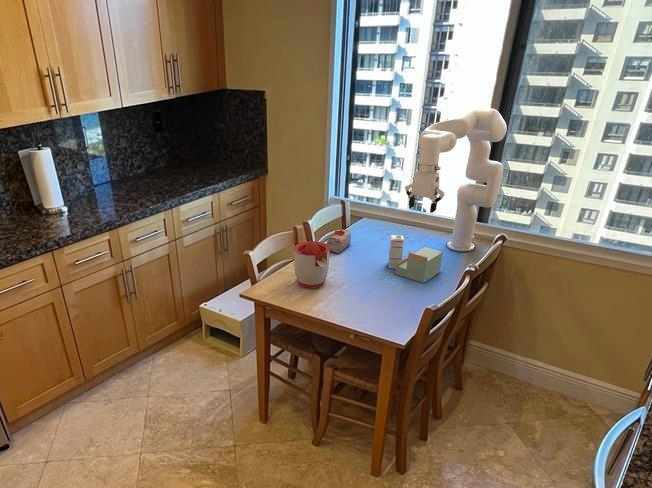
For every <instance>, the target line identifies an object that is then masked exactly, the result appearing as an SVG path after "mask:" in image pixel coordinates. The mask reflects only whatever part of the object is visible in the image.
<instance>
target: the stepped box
mask: <svg viewBox="0 0 652 488" xmlns="http://www.w3.org/2000/svg"><path fill="white" fill-rule="evenodd" d="M443 253H444V252H443V251H441V250H437V249H434V248H429V247H425V246H424V247H422V248H419V250H417V251H415V252H411V251H409V252H408V254H407V256H406V257H404V258H402V260H401V261H400V262H398V263H397V266H396V269H395V275H398V276H400V277H404V278H407V279H410V280H412V281H416V282H419V283H422V284H424V283H426V282H427V281H429V280H430V279H432V278H433V277H435V276H437V275H438V274H439V273H440V271H441V265H442V259H443Z"/></svg>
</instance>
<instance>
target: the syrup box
mask: <svg viewBox="0 0 652 488" xmlns="http://www.w3.org/2000/svg"><path fill="white" fill-rule="evenodd" d="M404 243H405V238H404V235H403V234H391V235H390V242H389V252H388V269H394V270H396V266H397V263H398V262H400V261H401V260H403V253H404Z"/></svg>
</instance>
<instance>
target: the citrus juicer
mask: <svg viewBox="0 0 652 488" xmlns="http://www.w3.org/2000/svg"><path fill="white" fill-rule="evenodd" d="M329 250H330V247H329V245H327V243H325V242H322V241H316V240H309V241H302V242H299V243H297V244H295V245H294V246H293V252H294V253H293V255H294V256H293V258H294V259H293V260H294V261H293V262H294V263H293V265H294V273H295V278H296V279H295V280H296V281H297V284H298V285H299V286H300V287H303V288H306V289H317V288H320V287H322V286H324V284H325V283H326V280H327V277H328V274H329V268H330V251H329Z"/></svg>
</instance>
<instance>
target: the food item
mask: <svg viewBox="0 0 652 488" xmlns="http://www.w3.org/2000/svg"><path fill="white" fill-rule="evenodd" d="M351 235H352V234H351V231H350V230H347V229H340V230H337V229H335V230H334V233H333V234H332V233H331V235H330V236H328V238H327V240H326V244H327V245H329V247H330V250H329V252H332V253H335V254H338V255H339V254H340V253H342V252H343V251H344V250H345V249H346V248H348V247H349V246H350V245H351Z"/></svg>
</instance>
